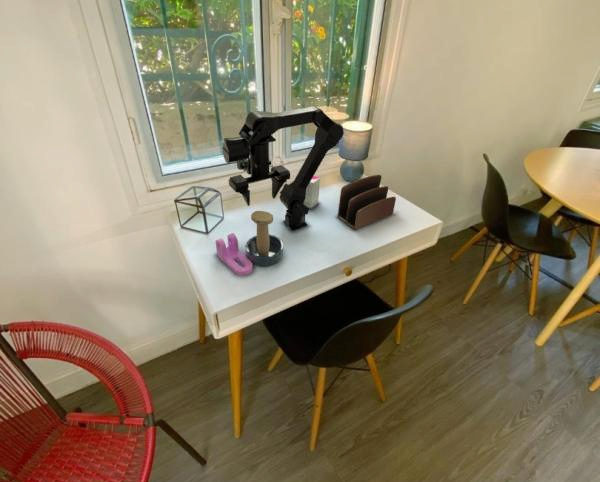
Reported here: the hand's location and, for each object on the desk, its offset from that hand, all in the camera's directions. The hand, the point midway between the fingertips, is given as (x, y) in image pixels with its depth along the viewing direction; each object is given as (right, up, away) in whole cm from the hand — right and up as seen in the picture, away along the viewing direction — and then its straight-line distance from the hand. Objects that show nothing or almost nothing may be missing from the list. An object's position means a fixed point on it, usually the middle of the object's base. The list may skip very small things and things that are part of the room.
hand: (261, 201), depth 107 cm
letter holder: (+37, -4, +19) cm, 42 cm away
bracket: (-7, -19, -5) cm, 21 cm away
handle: (+1, -17, -2) cm, 17 cm away
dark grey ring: (+1, -17, -2) cm, 17 cm away
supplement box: (+16, +1, +25) cm, 29 cm away
